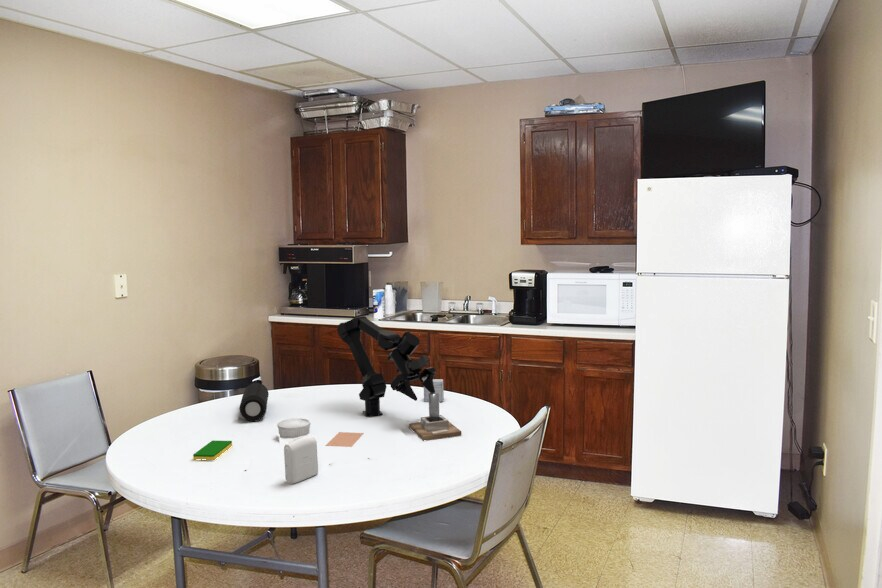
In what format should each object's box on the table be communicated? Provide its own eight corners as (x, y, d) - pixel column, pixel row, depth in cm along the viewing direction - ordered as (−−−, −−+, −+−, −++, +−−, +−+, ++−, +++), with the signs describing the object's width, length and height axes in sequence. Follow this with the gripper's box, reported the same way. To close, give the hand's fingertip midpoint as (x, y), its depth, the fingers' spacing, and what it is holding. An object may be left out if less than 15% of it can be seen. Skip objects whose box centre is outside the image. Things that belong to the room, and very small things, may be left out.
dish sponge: (193, 462, 210) (192, 454, 210) (212, 447, 224) (212, 440, 224) (214, 462, 210) (213, 455, 209) (232, 447, 223) (232, 440, 223)
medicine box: (443, 399, 276) (443, 379, 275) (442, 402, 272) (442, 381, 271) (425, 399, 277) (424, 379, 276) (423, 402, 272) (423, 381, 271)
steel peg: (428, 428, 233) (427, 394, 232) (430, 425, 236) (429, 392, 235) (438, 428, 232) (437, 395, 231) (440, 425, 235) (439, 392, 234)
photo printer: (292, 485, 189) (290, 443, 187) (283, 481, 191) (281, 440, 190) (320, 474, 197) (318, 434, 195) (311, 471, 199) (309, 431, 198)
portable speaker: (266, 421, 250) (265, 396, 249) (239, 424, 248) (238, 398, 247) (269, 404, 275) (268, 380, 274) (244, 406, 273) (243, 382, 272)
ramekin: (317, 436, 232) (316, 421, 231) (290, 444, 224) (289, 429, 223) (298, 430, 239) (298, 416, 239) (271, 437, 231) (271, 423, 231)
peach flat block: (339, 436, 231) (339, 432, 231) (364, 437, 229) (364, 433, 229) (325, 450, 217) (325, 445, 217) (351, 451, 216) (351, 446, 216)
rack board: (409, 427, 239) (408, 415, 239) (445, 422, 244) (445, 410, 244) (423, 440, 224) (422, 428, 224) (461, 435, 229) (461, 422, 229)
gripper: (395, 353, 231) (418, 389, 224) (432, 345, 244) (454, 379, 238) (380, 372, 237) (402, 407, 231) (417, 363, 250) (439, 396, 244)
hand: (425, 397), depth 236 cm, fingers open, 9 cm apart
